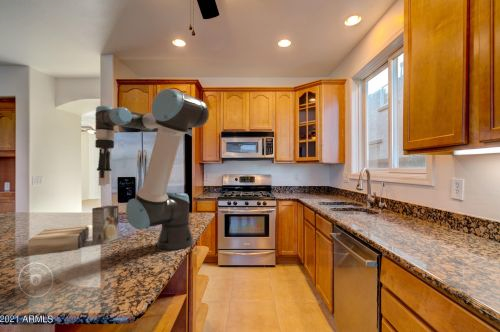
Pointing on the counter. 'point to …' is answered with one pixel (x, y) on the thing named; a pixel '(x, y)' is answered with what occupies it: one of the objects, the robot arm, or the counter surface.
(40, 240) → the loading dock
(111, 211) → the coffee box
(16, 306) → the counter surface
